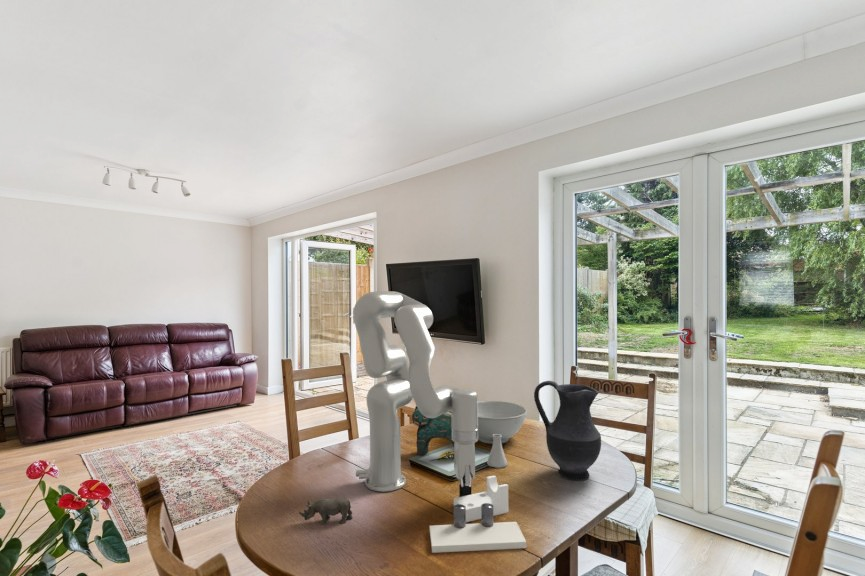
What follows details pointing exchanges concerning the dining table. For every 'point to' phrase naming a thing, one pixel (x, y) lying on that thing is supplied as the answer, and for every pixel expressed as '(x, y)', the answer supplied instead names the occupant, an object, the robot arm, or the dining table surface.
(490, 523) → the peg
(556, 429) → the pitcher
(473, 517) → the bracket
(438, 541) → the board
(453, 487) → the dining table surface
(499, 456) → the flask
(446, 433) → the cat figurine
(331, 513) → the rhino figurine
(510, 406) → the decorative bowl
